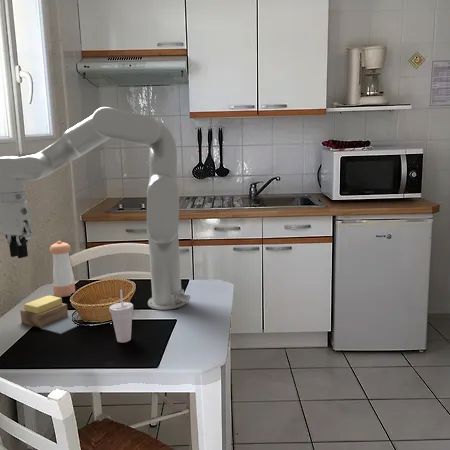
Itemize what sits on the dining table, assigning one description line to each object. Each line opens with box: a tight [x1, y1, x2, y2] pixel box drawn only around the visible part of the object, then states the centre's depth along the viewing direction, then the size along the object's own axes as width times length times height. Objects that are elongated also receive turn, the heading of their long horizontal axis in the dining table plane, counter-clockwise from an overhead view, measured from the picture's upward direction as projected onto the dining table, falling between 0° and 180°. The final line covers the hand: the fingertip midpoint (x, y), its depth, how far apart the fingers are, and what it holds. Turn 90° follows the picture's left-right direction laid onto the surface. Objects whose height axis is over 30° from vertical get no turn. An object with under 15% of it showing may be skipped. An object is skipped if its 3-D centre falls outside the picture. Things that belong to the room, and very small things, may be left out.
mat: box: [40, 314, 80, 335], centre depth 147 cm, size 9×11×1 cm
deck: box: [19, 302, 69, 329], centre depth 151 cm, size 9×10×4 cm
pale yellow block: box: [23, 295, 63, 314], centre depth 151 cm, size 9×6×2 cm, turn 148°
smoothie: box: [108, 289, 134, 344], centre depth 134 cm, size 6×6×14 cm
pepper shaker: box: [49, 240, 76, 298], centre depth 174 cm, size 7×7×19 cm
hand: (19, 256), depth 153 cm, fingers open, 2 cm apart
